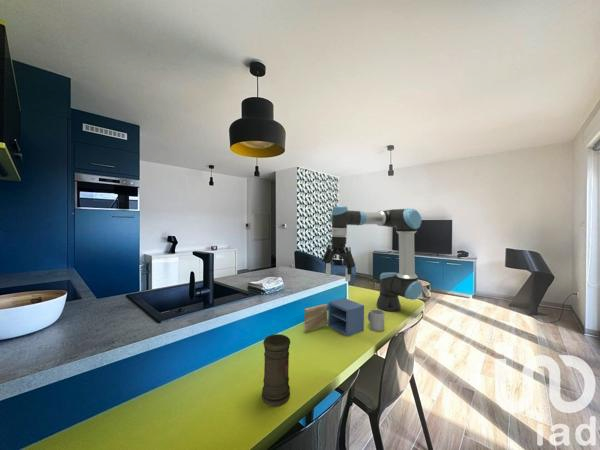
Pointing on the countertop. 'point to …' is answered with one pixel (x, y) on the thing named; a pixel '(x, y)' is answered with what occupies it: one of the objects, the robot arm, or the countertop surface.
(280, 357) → the container
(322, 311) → the door
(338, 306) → the cabinet
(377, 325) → the cup
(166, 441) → the countertop surface
